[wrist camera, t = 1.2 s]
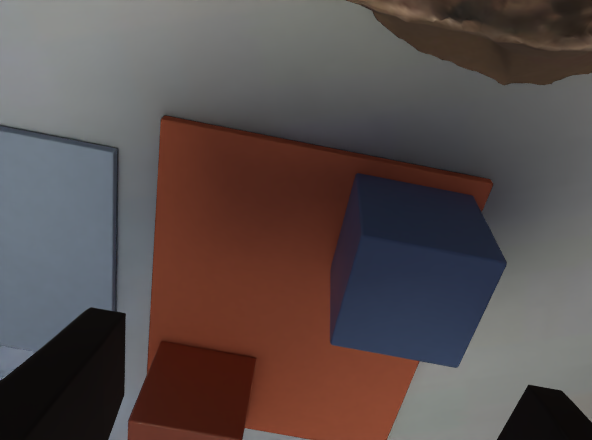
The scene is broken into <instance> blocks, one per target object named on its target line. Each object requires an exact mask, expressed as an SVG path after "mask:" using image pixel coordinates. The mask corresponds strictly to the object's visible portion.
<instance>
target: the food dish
mask: <svg viewBox="0 0 592 440" xmlns="http://www.w3.org/2000/svg"><path fill="white" fill-rule="evenodd" d="M346 1H350V2H353V3H356V4H359V5H362V6H364V7H366V8H368V9H370V10H372V11H373V14H374V16H375V18H376V19H377V20H378V21H379V22H381V23H382V25H384V26H385V27H386V28H387V29H389V30H390V31H391V32H392V33H394V34H395V35H396V36H397V37H399V38H401V39H403V40H405V41H406V42H407V43H409V44H410V45H412V46H413V47H414V48H416V49H417V50H418V51H420V52H423V53H426V54H431V55H433V56H436V57H438V58H440V59H442V60H447V61H451V62H453V63H455V64H456V65H458V66H460V67H463V68H466V69H469V70H472V71H477V72H479V73H481V74H484V75H486V76H488V77H491V78H493V79H495V80H496V81H497V82H498V83H500V84H502V85H507V84H510V83H532V84H537V85H546V84H552V82H554V81H557V80H561V79H563V78H565V77H568V76H571V75H579V74H589V73H592V0H346Z"/></svg>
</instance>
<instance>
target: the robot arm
mask: <svg viewBox="0 0 592 440" xmlns="http://www.w3.org/2000/svg"><path fill="white" fill-rule="evenodd" d="M125 317H126V313H121V312H115V311H109V310H104V309H98V308H93V307H90V308H89V309H87V310H85V311H84V312H83V313H82V314H80V315H79V316H78V317H77V318H76V319H75V320H73V321H72V322H71V323H70V324H69V325H68V326H66V327H65V328H64V329H63V330H62V331H61V332H59V333H58V334H57V335H56V336H55V337H53V338H52V339H51V340H50V341H49V342H48V343H46V344H45V345H44V346H43V347H42V348H40V349H39V350H38V351H37V352H36V353H34V354H33V355H32V356H31V357H30V358H28V359H27V360H26V361H25V362H23V363H22V364H21V365H20V366H19V367H17V368H16V369H15V370H13V371H12V372H11V373H10V374H8V375H7V376H6V377H5V378H3V379H2V380H1V381H0V440H108V439H109V436H110V433H111V431H112V428H113V425H114V422H115V420H116V417H117V414H118V411H119V408H120V405H121V403H122V400H123V397H124V384H125ZM497 440H592V422H591V421H590V420H589V419H588V418H587V417H586V416H585V415H584V414H583V413H582V411H581V410H580V409H579V408H578V407H577V406H576V405H575V404H574V403H573V402H572V401H571V400H570V399H569V398H568V397H567V396H566V395H565V394H564V393H563V392H562V391H561V390H555V389H550V388H544V387H538V386H533V385H528V386H527V388H526V390H525V392H524V393H523V395H522V397H521V399H520V400H519V402H518V404H517V406H516V407H515V409H514V411H513V413H512V414H511V416H510V418H509V419H508V421H507V423H506V425H505V426H504V428H503V430H502V432H501V433H500V435H499V437H498V439H497Z"/></svg>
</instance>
